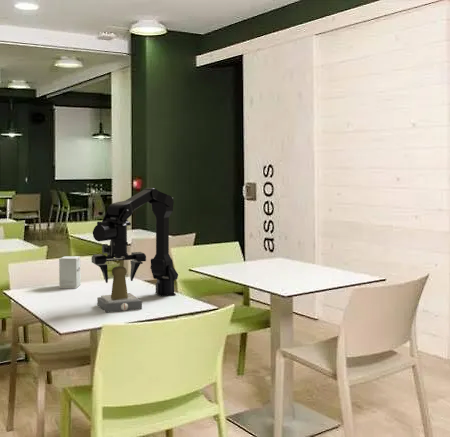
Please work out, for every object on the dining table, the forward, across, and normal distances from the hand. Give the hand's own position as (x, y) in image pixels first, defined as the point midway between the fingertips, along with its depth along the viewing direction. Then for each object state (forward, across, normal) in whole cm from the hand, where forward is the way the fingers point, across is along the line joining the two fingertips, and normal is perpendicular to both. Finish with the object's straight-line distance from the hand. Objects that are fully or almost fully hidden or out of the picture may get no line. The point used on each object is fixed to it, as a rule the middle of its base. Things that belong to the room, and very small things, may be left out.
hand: (119, 281), depth 222 cm
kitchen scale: (+9, 0, 0) cm, 9 cm away
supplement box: (+10, +8, -45) cm, 47 cm away
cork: (+6, 0, 0) cm, 6 cm away
